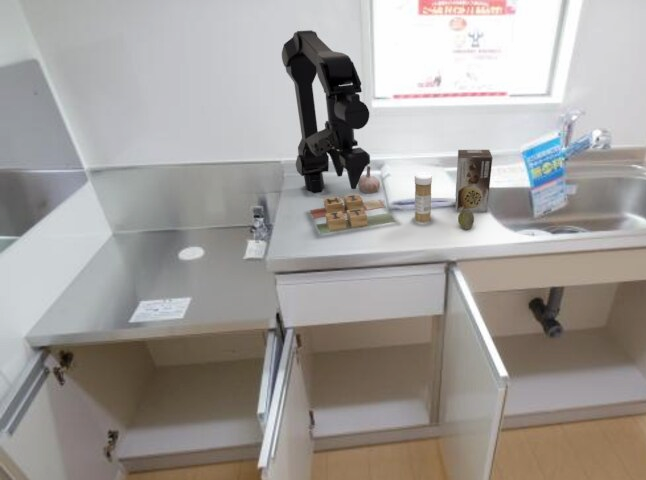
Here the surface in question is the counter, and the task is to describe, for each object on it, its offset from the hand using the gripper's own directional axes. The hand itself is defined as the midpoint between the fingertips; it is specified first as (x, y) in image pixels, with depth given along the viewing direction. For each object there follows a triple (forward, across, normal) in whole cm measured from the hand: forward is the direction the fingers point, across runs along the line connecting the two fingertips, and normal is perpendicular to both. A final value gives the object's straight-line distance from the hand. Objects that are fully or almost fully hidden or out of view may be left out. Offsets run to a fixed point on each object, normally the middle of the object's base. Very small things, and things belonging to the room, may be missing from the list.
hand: (346, 182), depth 113 cm
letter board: (+13, -5, +2) cm, 14 cm away
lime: (+13, +15, +28) cm, 34 cm away
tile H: (+12, -10, -1) cm, 16 cm away
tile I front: (+12, -1, -4) cm, 12 cm away
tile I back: (+12, -9, +5) cm, 16 cm away
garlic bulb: (+13, -20, +15) cm, 28 cm away
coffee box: (+13, +5, +36) cm, 39 cm away
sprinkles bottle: (+13, +6, +19) cm, 24 cm away
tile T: (+12, 0, +2) cm, 12 cm away
